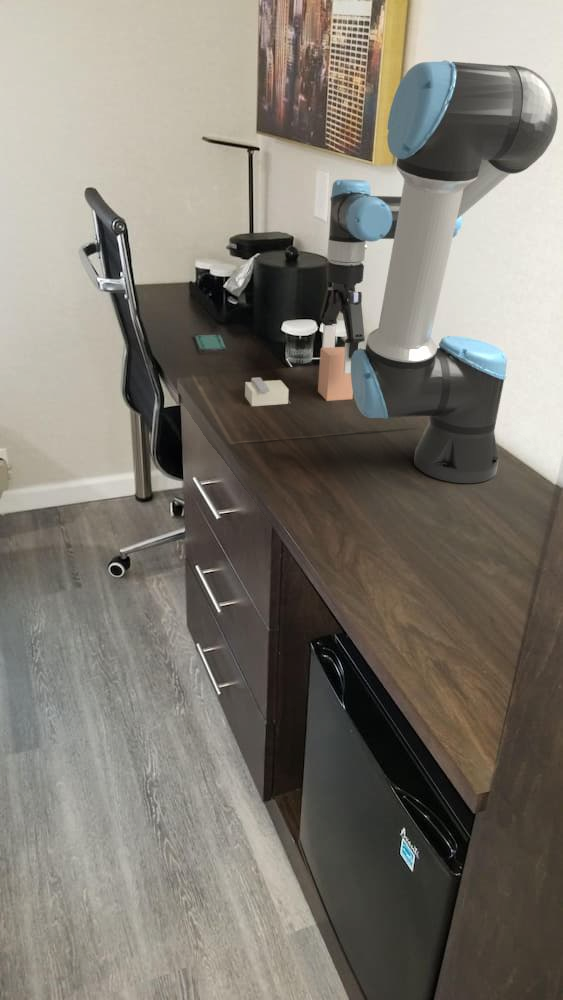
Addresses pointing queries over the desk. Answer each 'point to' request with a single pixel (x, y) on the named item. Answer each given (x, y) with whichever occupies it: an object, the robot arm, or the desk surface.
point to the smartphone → (210, 344)
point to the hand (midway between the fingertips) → (338, 363)
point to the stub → (334, 375)
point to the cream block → (266, 392)
